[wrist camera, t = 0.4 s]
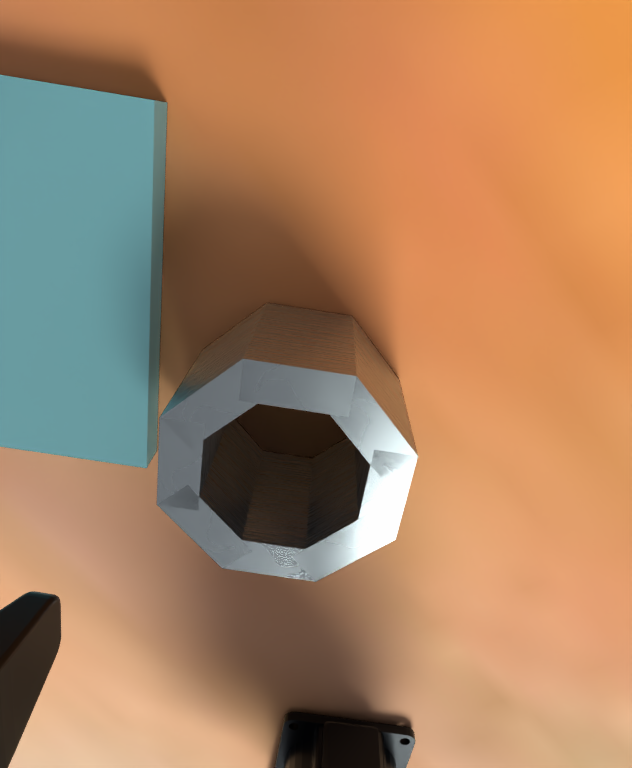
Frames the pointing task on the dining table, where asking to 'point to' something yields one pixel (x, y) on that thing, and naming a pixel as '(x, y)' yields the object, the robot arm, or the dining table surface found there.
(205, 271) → the dining table surface
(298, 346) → the block
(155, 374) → the shaft base
